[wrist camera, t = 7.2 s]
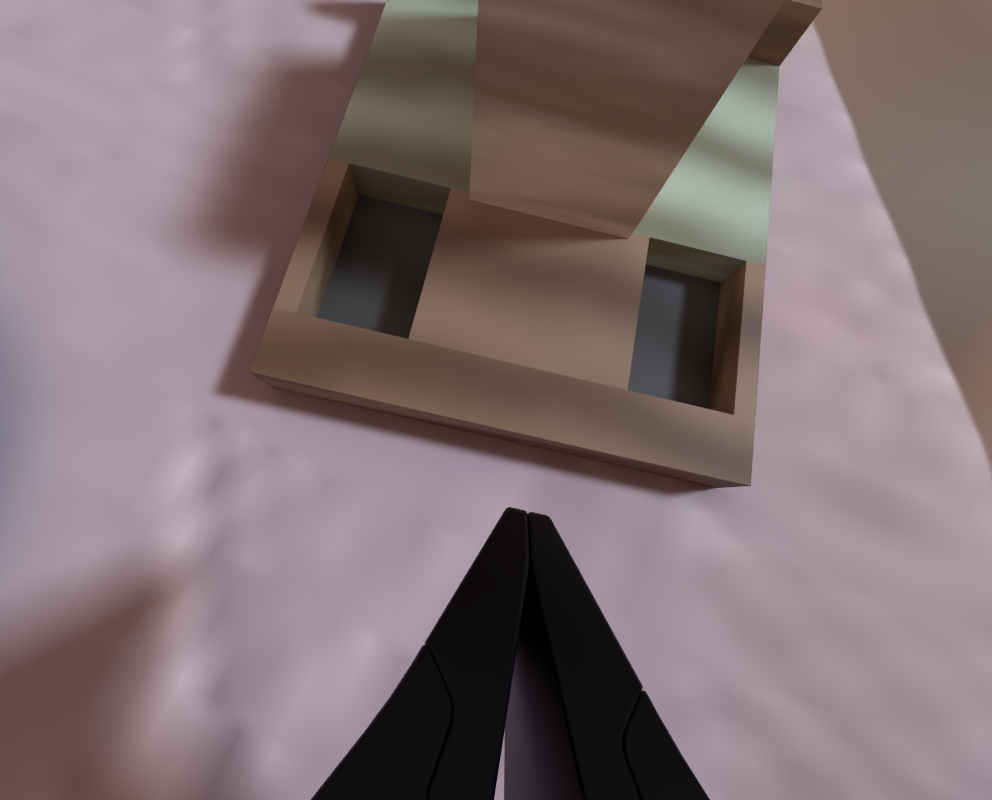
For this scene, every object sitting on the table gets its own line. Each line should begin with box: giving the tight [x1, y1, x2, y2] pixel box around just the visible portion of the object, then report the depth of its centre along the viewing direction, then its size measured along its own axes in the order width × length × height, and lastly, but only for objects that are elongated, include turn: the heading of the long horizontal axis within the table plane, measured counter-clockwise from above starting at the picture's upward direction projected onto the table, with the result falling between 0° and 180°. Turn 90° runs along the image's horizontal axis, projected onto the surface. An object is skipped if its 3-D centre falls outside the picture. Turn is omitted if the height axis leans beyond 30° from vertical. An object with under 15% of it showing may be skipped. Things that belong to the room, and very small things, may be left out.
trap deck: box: [249, 0, 822, 488], centre depth 22 cm, size 25×22×6 cm
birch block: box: [469, 0, 784, 239], centre depth 18 cm, size 12×8×11 cm, turn 168°
